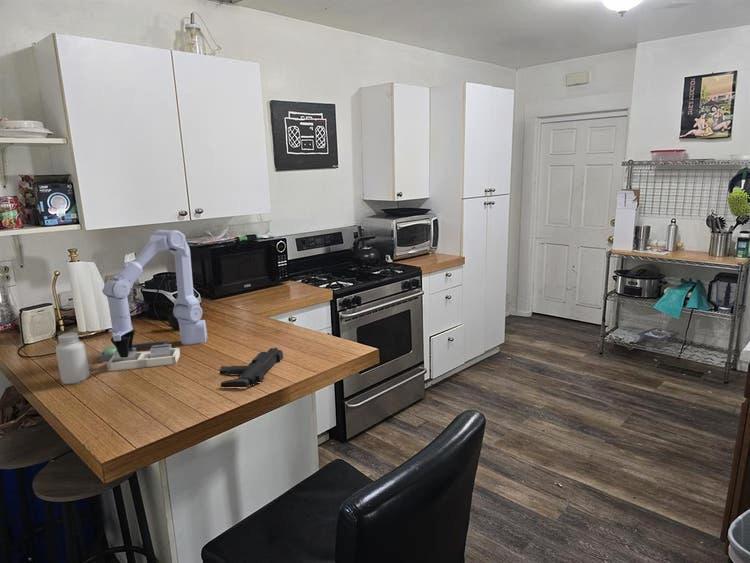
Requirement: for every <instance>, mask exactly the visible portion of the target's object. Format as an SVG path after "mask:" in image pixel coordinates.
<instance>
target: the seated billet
mask: <svg viewBox="0 0 750 563" xmlns="http://www.w3.org/2000/svg"><path fill="white" fill-rule="evenodd" d="M172 348H173V347H172V343H168V344H165V345H155V346H152V347H150V349H149V351H150V353H151V358H158V357H168V356H173V353H172Z"/></svg>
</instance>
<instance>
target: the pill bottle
mask: <svg viewBox="0 0 750 563" xmlns="http://www.w3.org/2000/svg"><path fill="white" fill-rule="evenodd" d="M57 339H58V343H59V344H57V345H56V346H55V354H56V356H55V357H56V361H57V366H58V371H59V372H58V373H59V376H60V381H61V383H62V384H64V385H73V384H78V383H82V382H83V381H84V380H87V379H88V378H90V374H91V372H90V367H89V362H88V354H87V349H86V344H85V342H84V341H82V340H80V338H79V334H78V333H77V332H74V331H73V332H65V333H62V334H59V335H58V336H57Z"/></svg>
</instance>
